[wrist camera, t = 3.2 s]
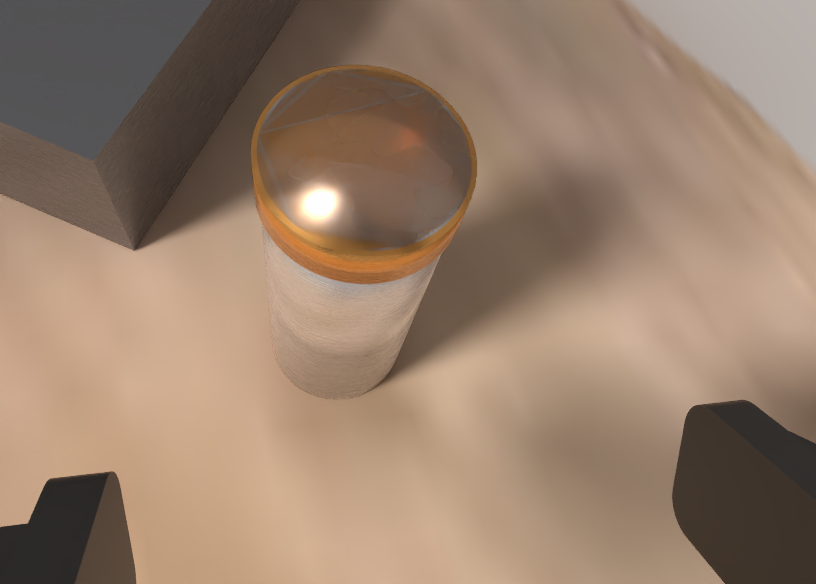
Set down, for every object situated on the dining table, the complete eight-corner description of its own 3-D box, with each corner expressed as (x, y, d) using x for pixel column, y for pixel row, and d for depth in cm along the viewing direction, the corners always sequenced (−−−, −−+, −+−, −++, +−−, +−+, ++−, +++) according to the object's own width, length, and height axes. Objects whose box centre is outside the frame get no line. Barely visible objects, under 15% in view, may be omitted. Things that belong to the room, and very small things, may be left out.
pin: (244, 369, 21) (208, 197, 12) (303, 257, 23) (310, 35, 14) (372, 424, 21) (431, 292, 12) (421, 307, 23) (505, 116, 14)
